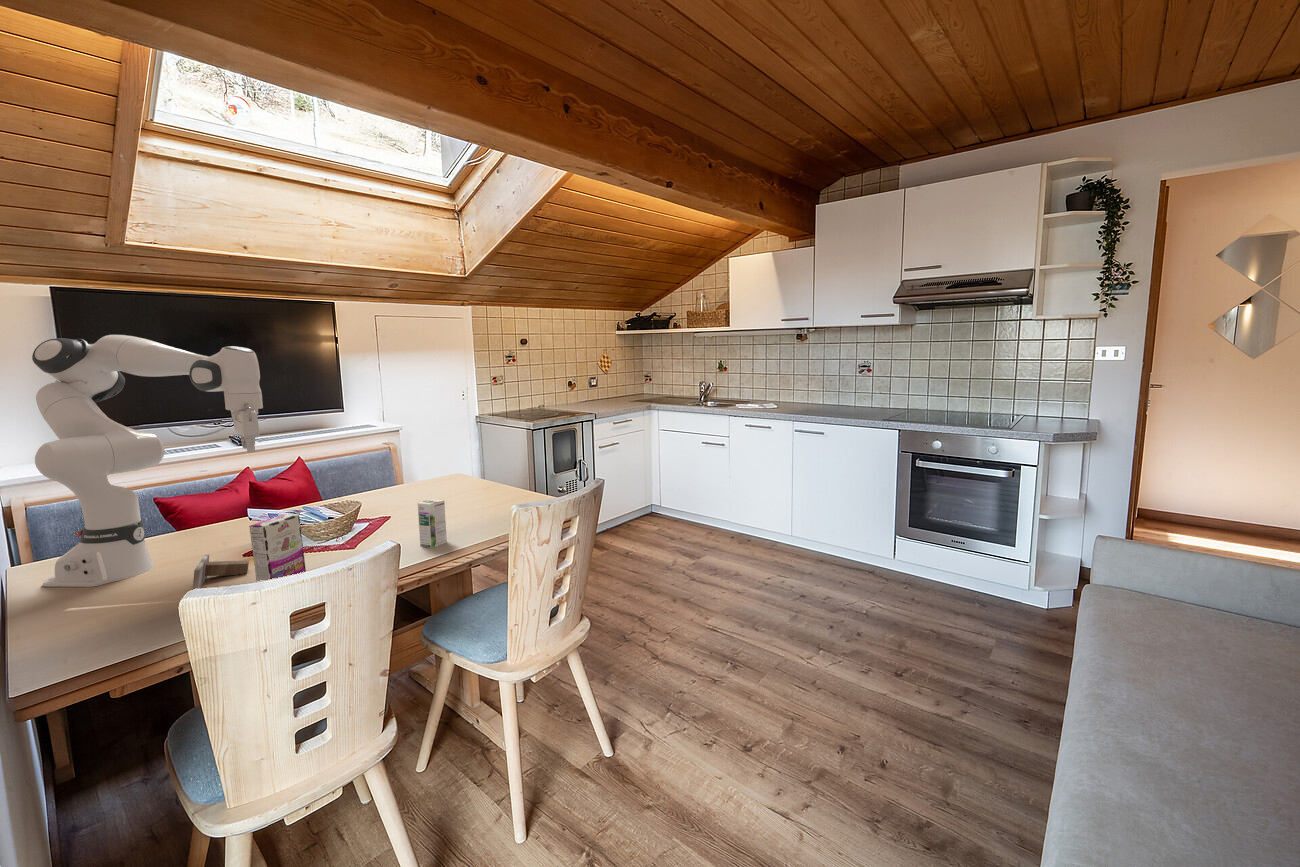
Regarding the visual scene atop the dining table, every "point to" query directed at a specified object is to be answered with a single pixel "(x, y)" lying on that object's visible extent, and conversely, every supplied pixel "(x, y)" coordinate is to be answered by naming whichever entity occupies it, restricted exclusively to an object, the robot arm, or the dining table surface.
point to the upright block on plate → (217, 569)
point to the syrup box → (432, 523)
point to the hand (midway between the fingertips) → (248, 450)
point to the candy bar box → (277, 547)
